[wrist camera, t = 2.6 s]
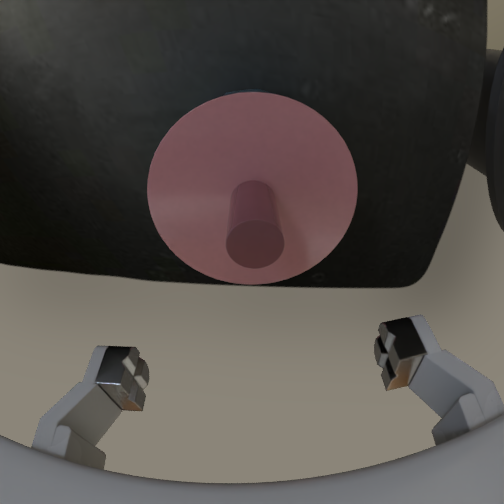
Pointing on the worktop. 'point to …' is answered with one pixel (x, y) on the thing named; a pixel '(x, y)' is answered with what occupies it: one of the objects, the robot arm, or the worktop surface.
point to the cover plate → (252, 156)
